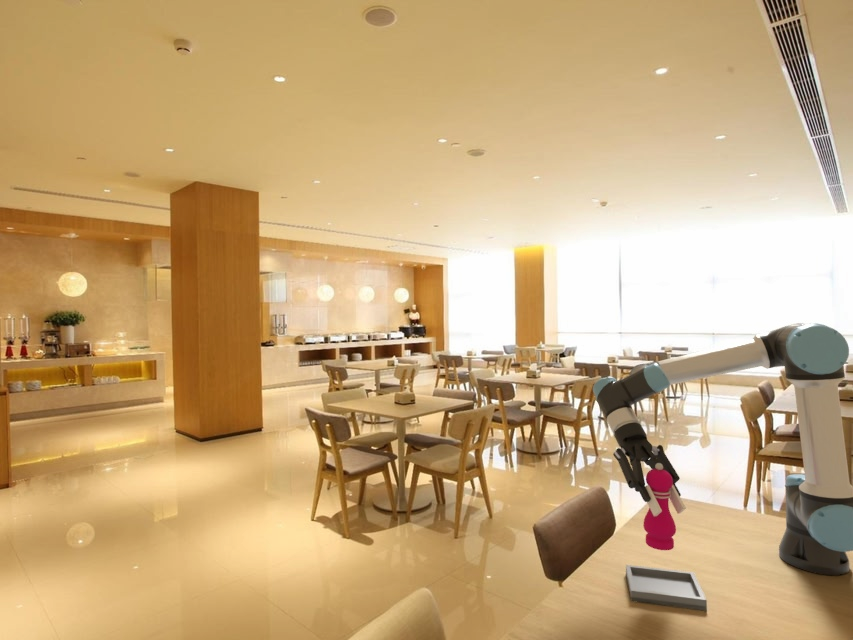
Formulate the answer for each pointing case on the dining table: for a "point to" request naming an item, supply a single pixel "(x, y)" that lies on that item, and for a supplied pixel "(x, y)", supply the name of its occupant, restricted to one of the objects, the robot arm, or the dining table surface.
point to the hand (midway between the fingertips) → (669, 512)
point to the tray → (665, 587)
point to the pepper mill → (663, 523)
